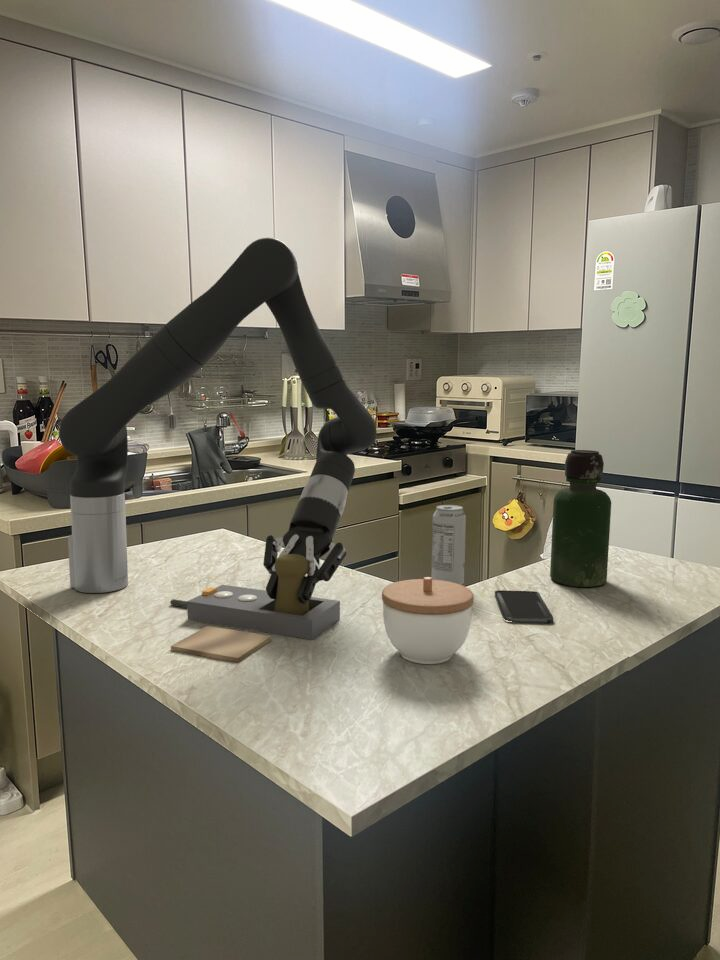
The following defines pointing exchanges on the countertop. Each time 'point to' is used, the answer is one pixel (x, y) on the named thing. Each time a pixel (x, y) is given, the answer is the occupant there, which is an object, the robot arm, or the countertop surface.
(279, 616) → the charging strip
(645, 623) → the countertop surface
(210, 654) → the cork pad
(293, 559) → the pepper shaker
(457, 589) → the lidded bowl
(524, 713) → the countertop surface
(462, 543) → the energy drink can
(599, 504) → the green bottle
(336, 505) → the robot arm
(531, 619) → the phone
